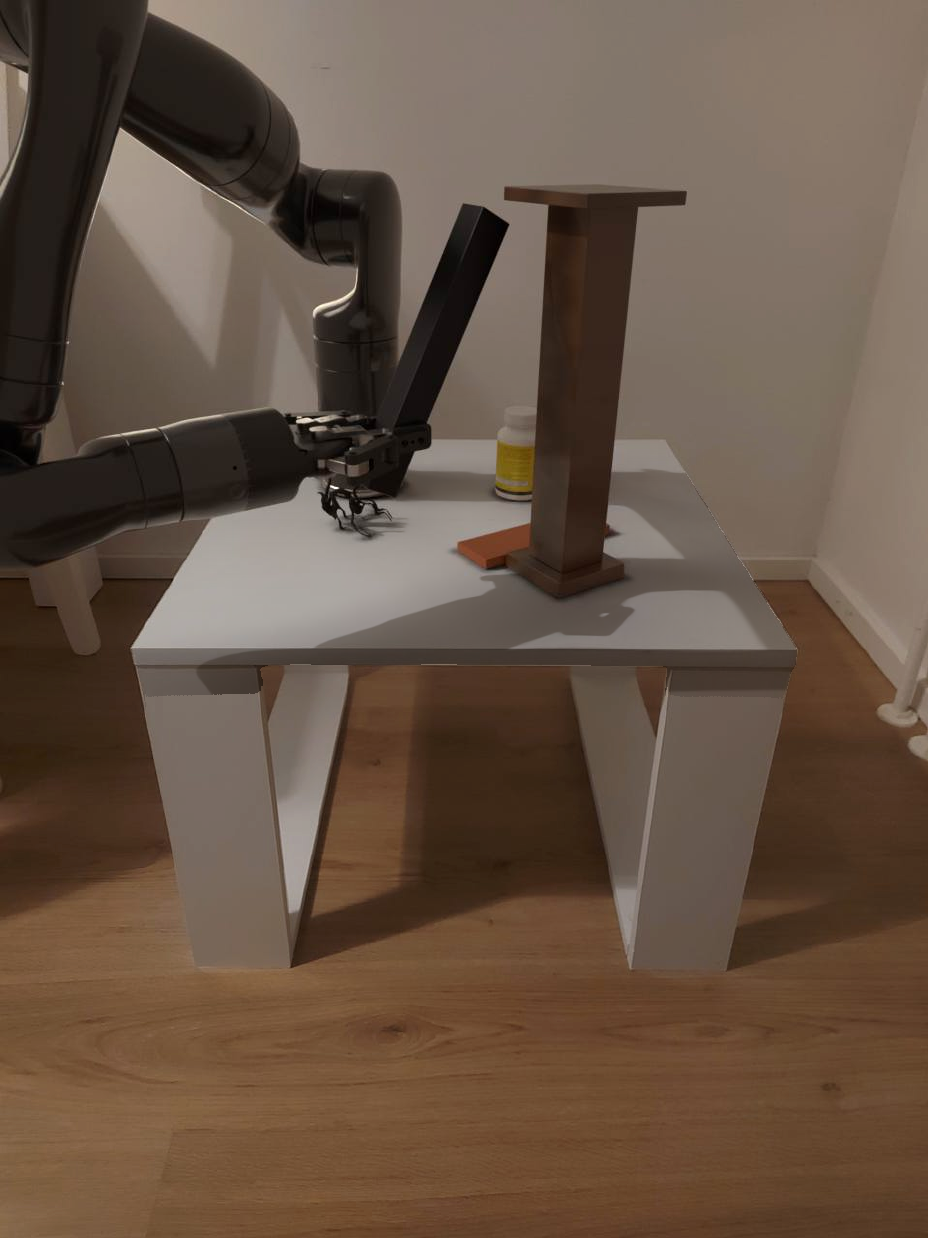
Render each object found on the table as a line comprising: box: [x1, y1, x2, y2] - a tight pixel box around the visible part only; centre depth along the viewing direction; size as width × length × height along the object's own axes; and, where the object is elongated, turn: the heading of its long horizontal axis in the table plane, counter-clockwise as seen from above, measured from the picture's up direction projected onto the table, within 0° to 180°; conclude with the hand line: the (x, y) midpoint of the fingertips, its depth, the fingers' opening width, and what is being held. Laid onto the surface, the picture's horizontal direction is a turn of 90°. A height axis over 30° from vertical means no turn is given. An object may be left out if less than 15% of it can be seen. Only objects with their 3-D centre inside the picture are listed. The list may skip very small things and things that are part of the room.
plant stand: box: [503, 183, 688, 599], centre depth 75 cm, size 10×10×33 cm
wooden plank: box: [456, 522, 611, 570], centre depth 89 cm, size 5×16×1 cm, turn 124°
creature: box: [317, 478, 393, 538], centre depth 92 cm, size 8×5×8 cm
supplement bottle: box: [494, 405, 537, 501], centre depth 99 cm, size 5×5×10 cm
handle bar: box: [361, 202, 510, 499], centre depth 73 cm, size 3×24×3 cm
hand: (417, 429), depth 75 cm, fingers closed on handle bar, 3 cm apart
